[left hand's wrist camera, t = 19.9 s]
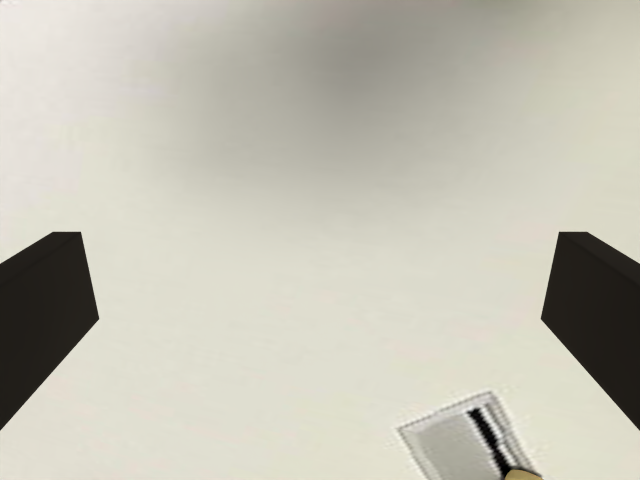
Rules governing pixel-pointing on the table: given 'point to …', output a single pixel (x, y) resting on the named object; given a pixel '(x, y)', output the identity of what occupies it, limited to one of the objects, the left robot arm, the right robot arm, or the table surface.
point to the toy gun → (521, 475)
